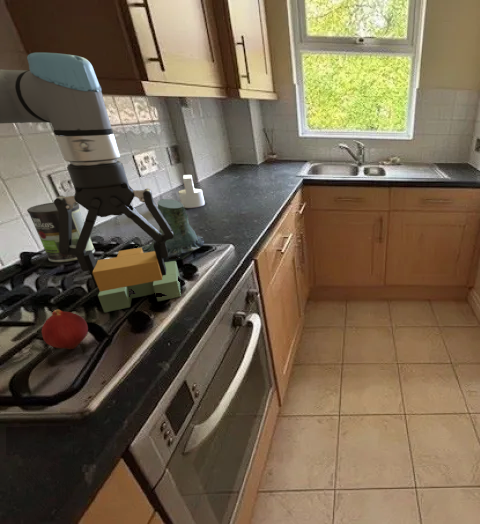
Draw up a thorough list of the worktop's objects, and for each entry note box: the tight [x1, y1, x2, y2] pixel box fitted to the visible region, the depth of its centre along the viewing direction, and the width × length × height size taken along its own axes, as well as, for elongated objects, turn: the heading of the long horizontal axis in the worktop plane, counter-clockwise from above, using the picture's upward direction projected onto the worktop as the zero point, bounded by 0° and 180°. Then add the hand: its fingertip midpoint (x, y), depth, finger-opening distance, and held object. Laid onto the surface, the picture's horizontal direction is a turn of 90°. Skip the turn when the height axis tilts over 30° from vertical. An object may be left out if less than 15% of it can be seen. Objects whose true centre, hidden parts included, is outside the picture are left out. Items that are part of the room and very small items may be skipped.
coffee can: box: [26, 201, 96, 263], centre depth 90 cm, size 10×10×14 cm
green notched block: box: [97, 260, 182, 313], centre depth 75 cm, size 14×12×4 cm
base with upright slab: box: [177, 174, 206, 209], centre depth 139 cm, size 9×9×12 cm
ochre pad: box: [92, 248, 162, 292], centre depth 66 cm, size 10×10×4 cm
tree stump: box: [133, 198, 205, 263], centre depth 94 cm, size 18×20×18 cm
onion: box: [41, 309, 89, 350], centre depth 56 cm, size 6×6×8 cm
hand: (133, 278), depth 65 cm, fingers closed on ochre pad, 10 cm apart
